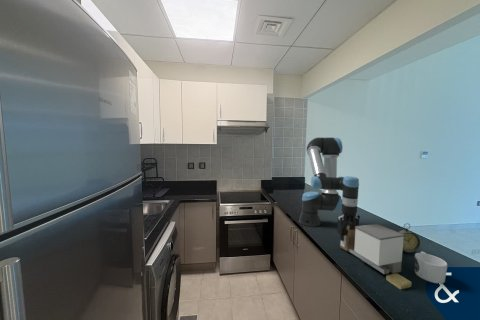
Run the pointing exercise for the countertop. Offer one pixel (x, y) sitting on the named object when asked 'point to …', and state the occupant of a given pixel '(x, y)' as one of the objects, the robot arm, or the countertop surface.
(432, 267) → the mug
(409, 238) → the alarm clock
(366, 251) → the toe kick cabinet
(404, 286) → the yellow sponge
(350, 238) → the brown block grey strip
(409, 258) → the countertop surface
